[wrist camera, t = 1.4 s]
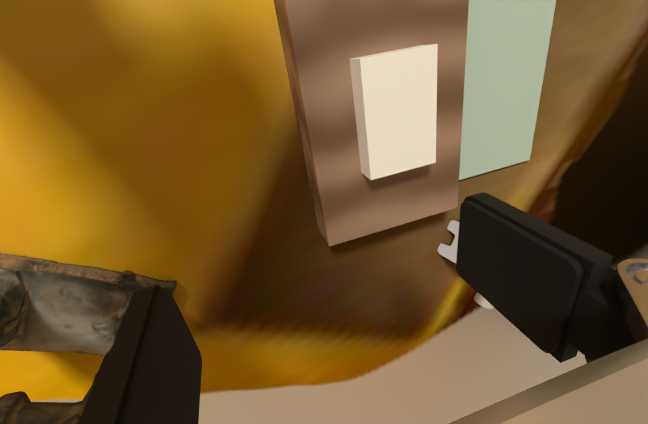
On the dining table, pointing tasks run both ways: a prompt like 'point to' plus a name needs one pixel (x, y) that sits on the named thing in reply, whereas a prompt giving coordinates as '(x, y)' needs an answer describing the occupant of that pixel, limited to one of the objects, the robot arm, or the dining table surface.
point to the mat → (502, 81)
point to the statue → (60, 321)
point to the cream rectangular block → (395, 109)
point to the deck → (339, 112)
